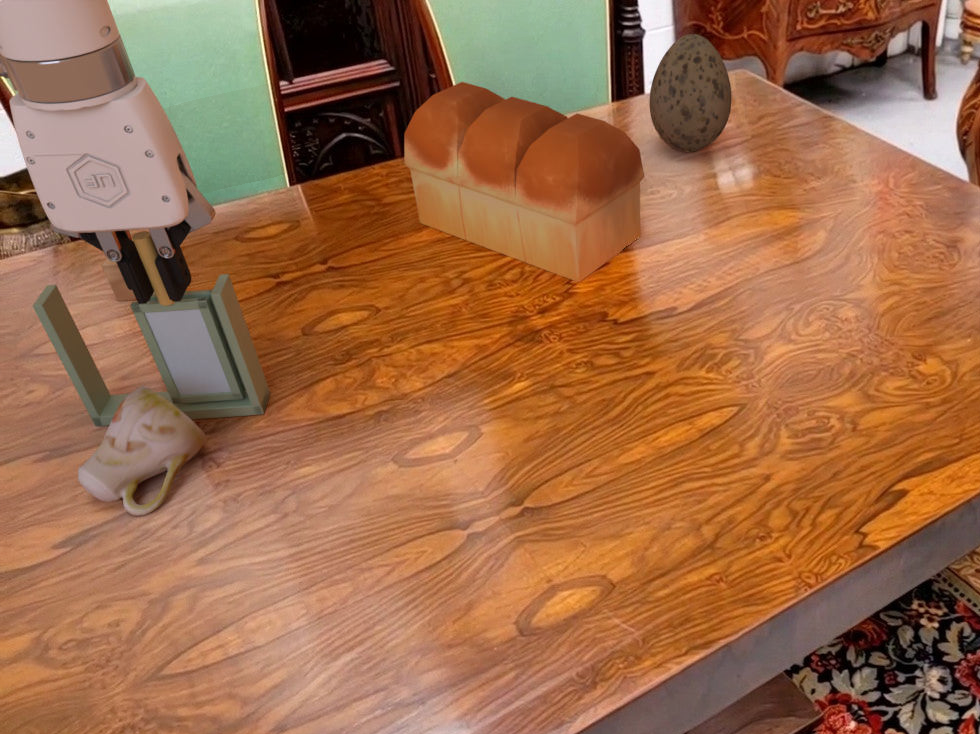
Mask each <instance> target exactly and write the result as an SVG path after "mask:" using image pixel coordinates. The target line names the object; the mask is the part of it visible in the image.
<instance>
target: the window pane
mask: <svg viewBox="0 0 980 734" xmlns="http://www.w3.org/2000/svg"><path fill="white" fill-rule="evenodd" d="M131 237H132V241H134V243H135V246H136V248H137V251H138V253H139V255H140V258H141V260H142V263H143V265H144V267H145V270H146V272H147V275H148V277H149V279H150V282H151V284H152V287H153V289H154V291H155V294H156V296H157V299H158V301H149V302H147V303H146V304H139V303H138V302H137V301H132V302H131V304H130V308H131V310H132V311H131V312H132V313H133V316H134V318H135V320H136V322H137V324H138V327H139V329H140V331H141V333H142V336H143V339H144V340H145V342H146V344H147V347H148V349H149V352H150V355H151V356H152V359H153V361H154V363H155V365H156V367H157V369H158V372H159V374H160V377H161V379H162V382H163V383H164V385H165V388H166V390H167V391H168V392H169V395H170V397H171V399H172V401H173V404H180V403H194V402H208V401H223V400H238V399H243V398H244V393H243V390H242V388H241V385H240V382H239V380H238V377H237V374H236V372H235V369H234V366H233V363H232V361H231V358H230V355H229V353H228V350H227V347H226V345H225V342H224V339H223V337H222V334H221V331H220V329H219V326H218V323H217V321H216V318H215V315H214V313H213V310H212V307H211V305H210V302H209V299H208V297H204V298H190V299H181V301H177V302H173V301H172V300H170V299H169V297H168V294H167V292H166V289H165V287H164V284H163V282H162V280H161V277H160V275H159V272H158V270H157V267H156V265H155V259H156V258H157V256H158V253H157V250H156V247H155V244H154V242H153V239H152V237H151V234H150V232H149V230H145V231H144V230H143V231H138V232H136V233H134V234H132V235H131Z"/></svg>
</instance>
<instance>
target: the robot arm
mask: <svg viewBox="0 0 980 734" xmlns="http://www.w3.org/2000/svg"><path fill="white" fill-rule="evenodd" d="M1 77H3V78H4V79H8V80H9V81H10V83H11V86H12V88H13V90H14V92H17V93H16V94H14V95H13V96H12V97H11V98H10V99H9V106H10V112H11V117H12V120H13V126H14V130H15V133H16V138H17V140H18V144H19V147H20V151H21V154H22V157H23V160H24V164H25V166H26V169H27V172H28V174H29V178H30V180H31V182H32V186H33V188H34V190H35V193H36V195H37V197H38V200H39V202H40V204H41V207H42V209H43V211H44V213H45V215H46V217H47V219H48V220H49V222H50V223H49V225H50V228H51V231H53V232H54V233H56V234H60V235H63V236H68V237H71V238H76V239H79V238H80V239H81V240H83V241H84V242H86V243H88V244H89V245H91V246H93V247H94V248H96V249H98V250H99V251H101V252H103V253H104V256H105V257H106V258H108V259H109V260H110V261H113V262H116V263H117V265H118V267H119V270H120V272H121V274H122V276H123V279H124V281H125V283H126V285H127V287H128V289H129V290H132V291H133V293H134V295H135V297H136V300H135V301H136V302H138V303H139V304H146V303H147V302H149V300H150V298H151V297H152V295H153V293H154V289H153V287H152V284H151V282H150V279H149V277H148V275H147V272H146V270H145V267H144V265H143V263H142V260H141V258H140V255H139V253H138V251H137V248H136V246H135V243H134V241H133V239H132V235H131V233H130V231H137V230H139V231H140V230H148V232H150V234H151V237H152V239H153V242H154V244H155V247H156V250H157V253H158V256H157V258H156V259H155V265H156V267H157V270H158V272H159V275H160V277H161V280H162V282H163V284H164V287H165V289H166V292H167V294H168V297H169V299H170V300H172V301H173V302H177V301H181V299H182V297H183V295H184V293H185V291H187V289H188V287H190V286H191V283H192V274H191V270H190V268H189V265H188V263H187V261H186V258H185V256H184V252H183V250H182V247H181V245H182V244H183V242H184V241H185V240H186V238H187V237H188V235H189V234H191V233H193V232H196V231H198V230H200V229H202V228H204V227H206V226H208V225H210V224H211V223H212V222H213V220H214V218H215V216H216V213H217V212H216V210H215V208H214V207H213V205H212V204H211V203H210V202H209V200H207V199H206V197H205V196H204V195H203V194H202V192H201V191H200V190H199V189H198V185H197V182H196V178H195V176H194V173H193V171H192V168H191V165H190V162H189V160H188V158H187V155H186V153H185V151H184V150H185V149H184V148H183V145H182V144H181V142H180V139H179V137H178V135H177V133H176V131H175V129H174V126H173V124H172V122H171V120H170V119H169V117H168V115H167V113H166V111H165V109H164V108H163V106H162V104H161V102H160V100H159V99H158V97H157V96H156V94H155V92H154V91H153V89H152V87H151V86H150V85H149V83H148V82H147V80H146V79H145V78H144V77H142V76H136V74H135V71H134V69H133V66H132V63H131V60H130V57H129V54H128V52H127V50H126V46H125V44H124V42H123V38H122V36H121V33H120V31H119V27H118V26H117V23H116V21H115V17H114V15H113V12H112V9H111V7H110V3H109V1H108V0H0V78H1Z"/></svg>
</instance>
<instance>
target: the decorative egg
mask: <svg viewBox="0 0 980 734" xmlns="http://www.w3.org/2000/svg"><path fill="white" fill-rule="evenodd" d="M732 97H733V95H732V86H731V81H730V77H729V73H728V70H727V67H726V64H725V62H724V60H723V58H722V55H721V54H720V53H719V51H718V50H717V49H716V47H715V46H714V45H713V43H712V42H710V41H709V40H708V39H707V38H706V37H705V36H702V35H700V34H696V33H690V34H686V35H683V36H681V37H680V38H679V39H677V40H676V41H675V42H673V43H672V44H671V45H670V47H669V48H668V49H667V50H666V52H665V53H664V55H663V56H662V58H661V59H660V61H659V64H658V66H657V68H656V70H655V72H654V75H653V78H652V81H651V86H650V89H649V101H648V102H649V114H650V119H651V121H652V124H653V127H654V129H655V131H656V133H657V135H658V136H659V137H660V139H661V140H662V141H664V142H665V143H666V144H667V145H668V146H669V147H671V148H672V149H675V150H679V151H681V152H685V151H689V152H688V153H693V152H698V151H701V150H704V149H705V148H708V147H709V146H710V145H712V144H713V143H714V142H715V141H716V140H717V139H718V138H719V137H720V136H721V135H722V133H723V132H724V130H725V128H726V126H727V123H728V121H729V118H730V115H731V110H732V99H733V98H732Z"/></svg>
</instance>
